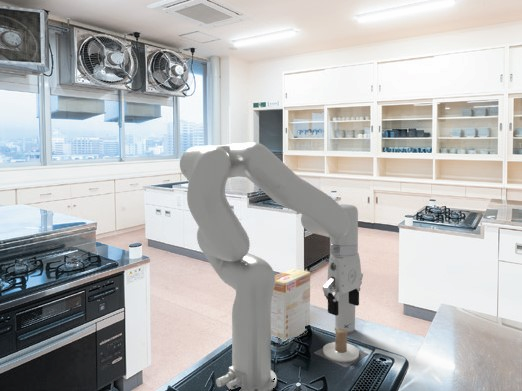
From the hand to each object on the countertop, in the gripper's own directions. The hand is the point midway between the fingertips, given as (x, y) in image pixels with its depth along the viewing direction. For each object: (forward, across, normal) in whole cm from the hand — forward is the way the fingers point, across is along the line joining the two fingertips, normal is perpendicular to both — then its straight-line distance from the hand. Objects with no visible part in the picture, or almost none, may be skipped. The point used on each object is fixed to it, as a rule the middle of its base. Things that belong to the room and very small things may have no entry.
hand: (343, 309), depth 113 cm
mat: (+13, -1, 0) cm, 13 cm away
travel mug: (+14, +13, +9) cm, 21 cm away
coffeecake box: (+13, -3, +19) cm, 23 cm away
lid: (+13, -1, 0) cm, 13 cm away
